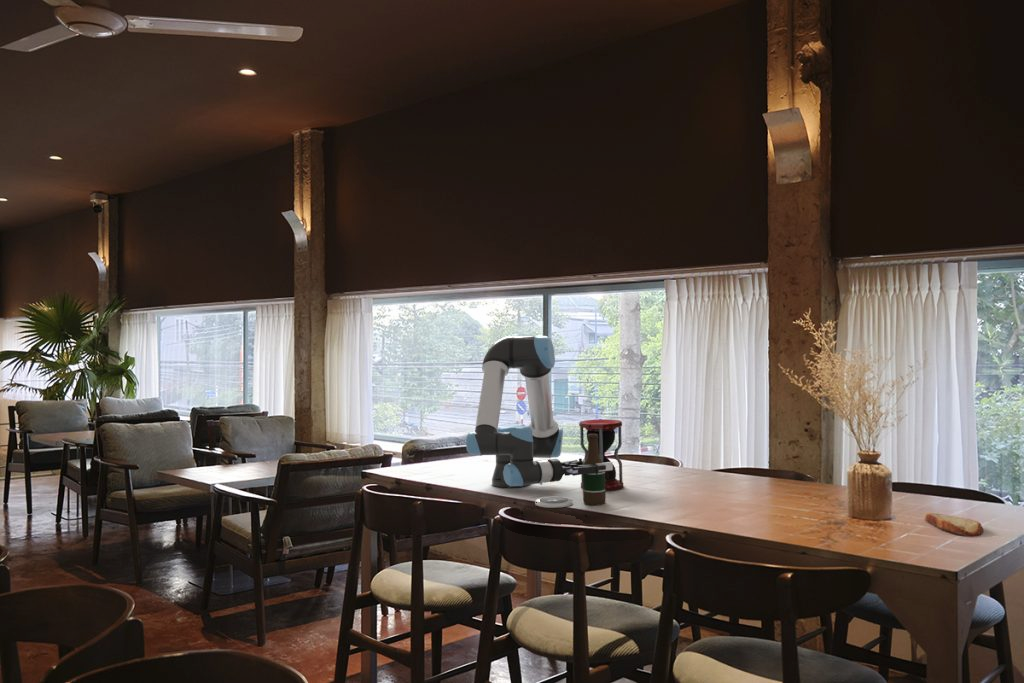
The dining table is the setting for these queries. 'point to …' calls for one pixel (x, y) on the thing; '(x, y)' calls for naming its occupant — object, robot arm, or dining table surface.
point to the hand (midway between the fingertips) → (605, 464)
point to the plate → (554, 502)
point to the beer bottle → (593, 475)
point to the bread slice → (955, 524)
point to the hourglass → (604, 447)
